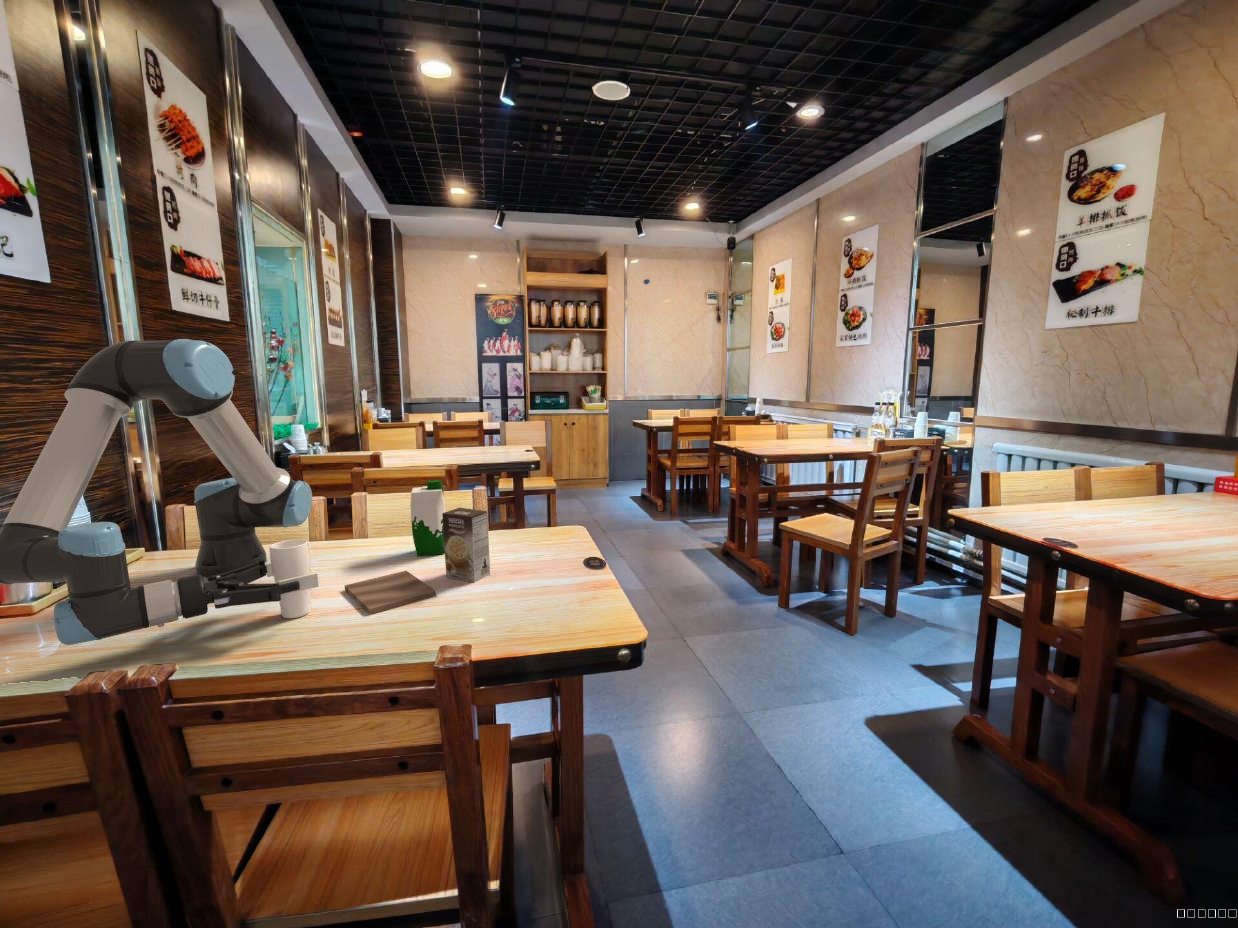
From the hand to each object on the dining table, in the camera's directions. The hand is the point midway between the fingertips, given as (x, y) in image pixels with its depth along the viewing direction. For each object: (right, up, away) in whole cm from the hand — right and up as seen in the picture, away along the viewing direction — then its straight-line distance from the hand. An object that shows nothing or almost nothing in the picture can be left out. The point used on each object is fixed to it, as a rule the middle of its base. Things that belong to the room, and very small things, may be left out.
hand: (309, 570), depth 112 cm
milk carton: (+12, -3, +39) cm, 41 cm away
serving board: (+13, -7, +9) cm, 17 cm away
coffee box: (+27, -5, +20) cm, 34 cm away
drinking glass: (-2, -9, -1) cm, 9 cm away
